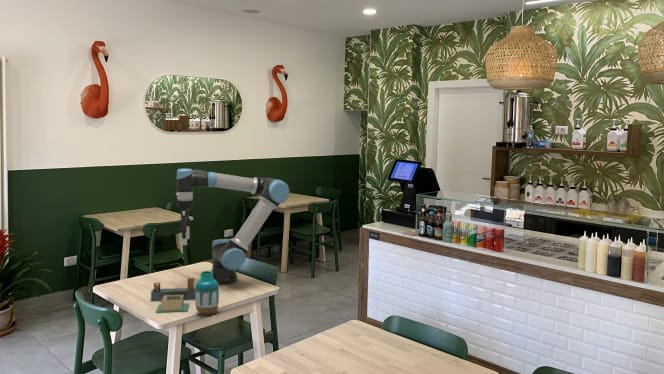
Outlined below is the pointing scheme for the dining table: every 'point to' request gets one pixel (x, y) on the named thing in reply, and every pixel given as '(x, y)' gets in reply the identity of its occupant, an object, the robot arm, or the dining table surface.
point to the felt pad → (184, 309)
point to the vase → (206, 293)
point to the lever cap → (172, 302)
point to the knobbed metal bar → (174, 291)
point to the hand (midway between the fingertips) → (185, 241)
